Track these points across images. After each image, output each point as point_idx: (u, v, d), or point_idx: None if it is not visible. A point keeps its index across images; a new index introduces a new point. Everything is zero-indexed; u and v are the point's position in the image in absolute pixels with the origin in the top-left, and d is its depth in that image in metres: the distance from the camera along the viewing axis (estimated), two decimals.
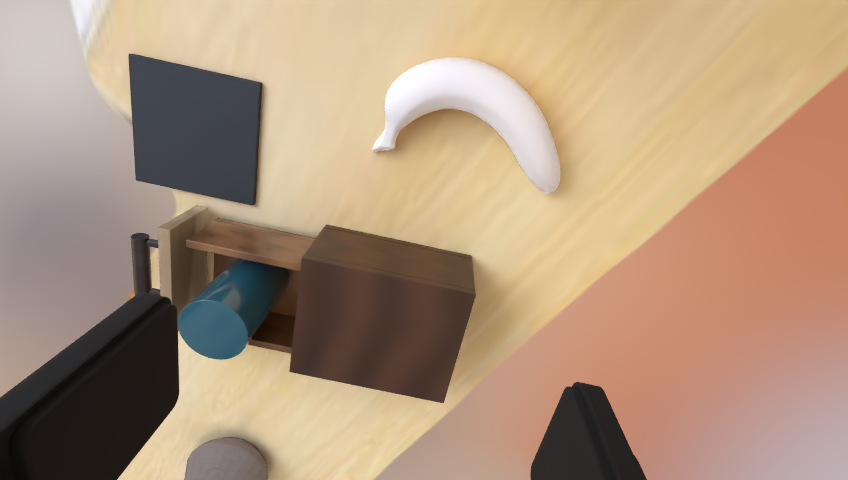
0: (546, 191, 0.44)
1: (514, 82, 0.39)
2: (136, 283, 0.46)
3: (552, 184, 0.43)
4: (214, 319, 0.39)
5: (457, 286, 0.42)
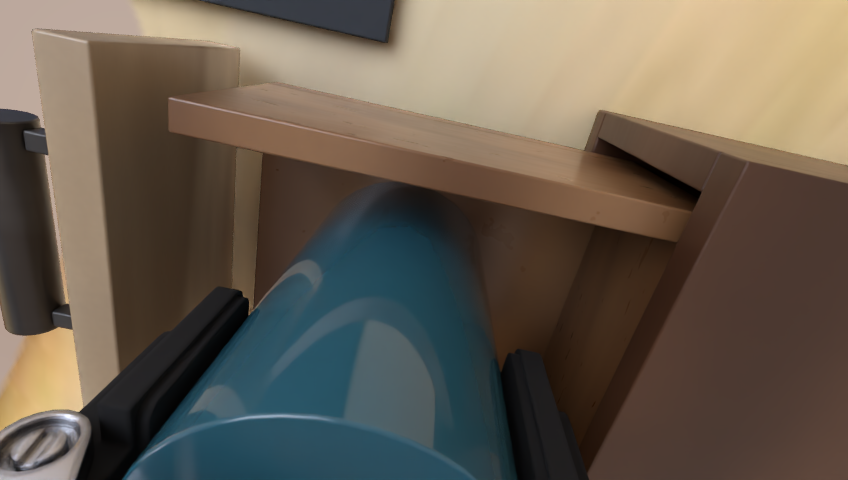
0: None
1: None
2: (3, 289, 0.13)
3: None
4: None
5: None
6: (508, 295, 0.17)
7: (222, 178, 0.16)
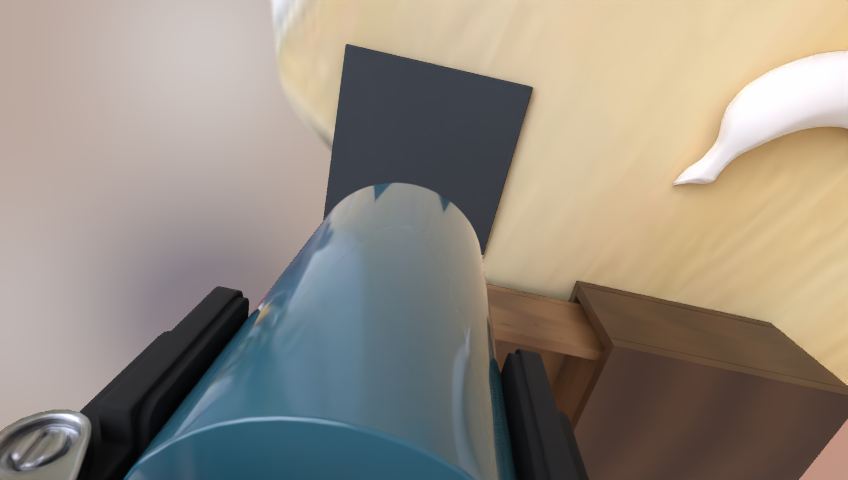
0: None
1: None
2: None
3: None
4: None
5: (827, 384, 0.29)
6: None
7: None
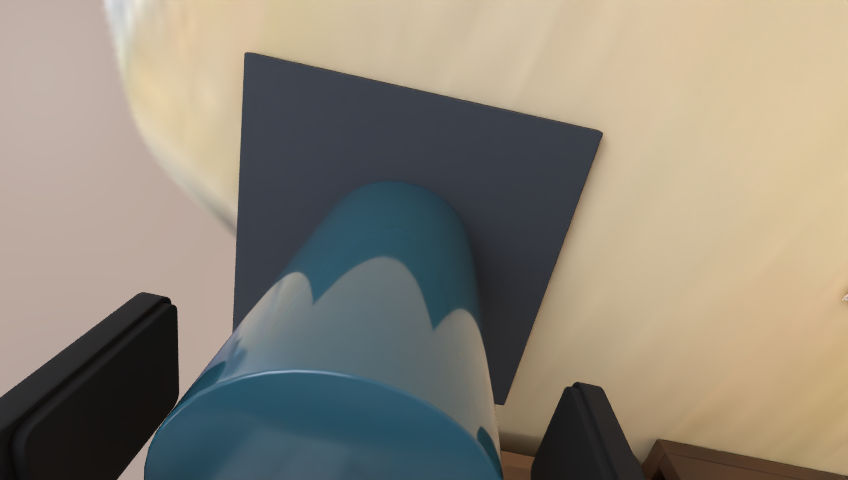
0: None
1: None
2: None
3: None
4: (339, 467, 0.07)
5: None
6: None
7: None
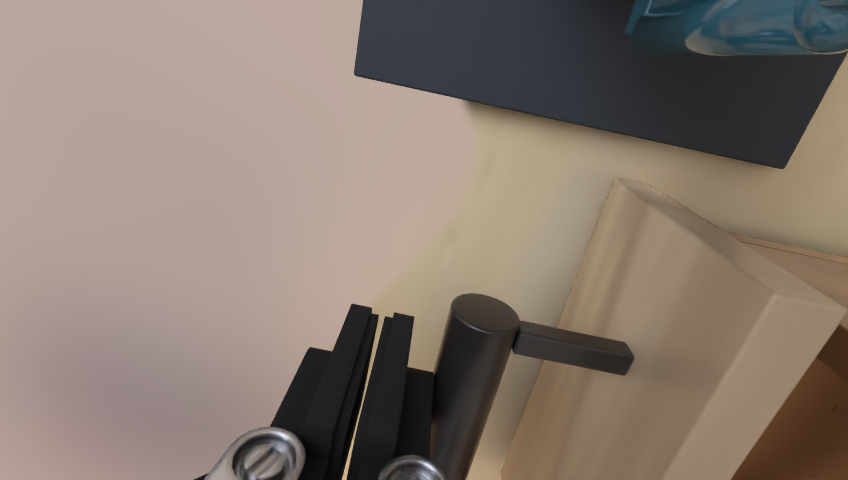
0: None
1: None
2: None
3: None
4: None
5: None
6: None
7: None
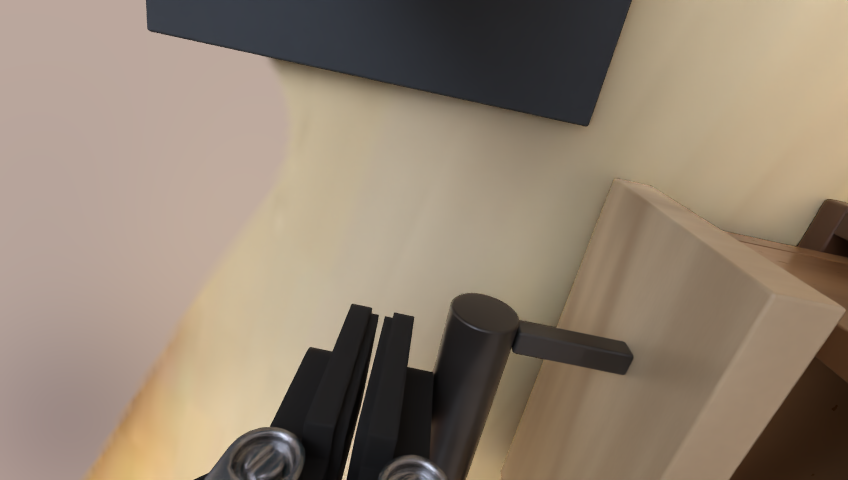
0: None
1: None
2: None
3: None
4: None
5: None
6: None
7: None
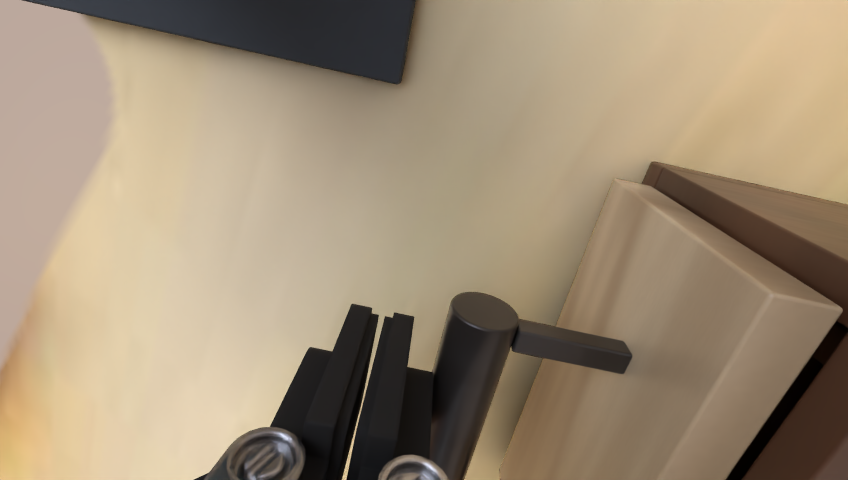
0: None
1: None
2: None
3: None
4: None
5: None
6: None
7: None
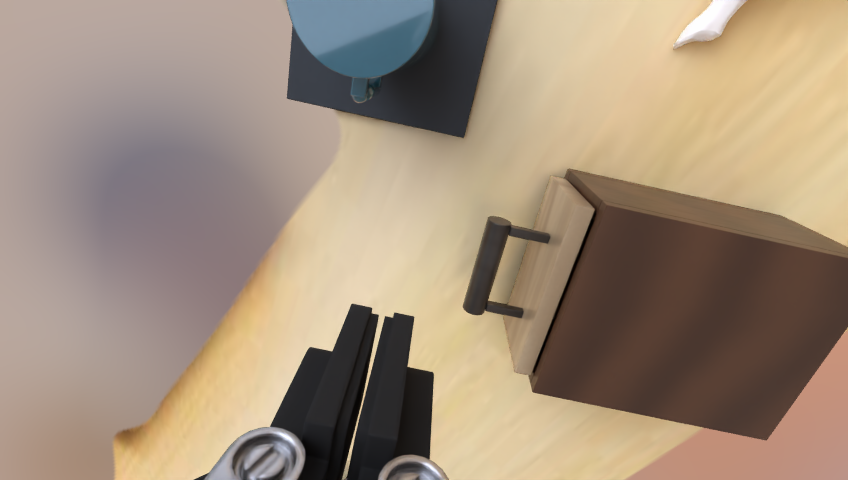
0: None
1: None
2: (477, 294, 0.30)
3: None
4: None
5: None
6: None
7: None
